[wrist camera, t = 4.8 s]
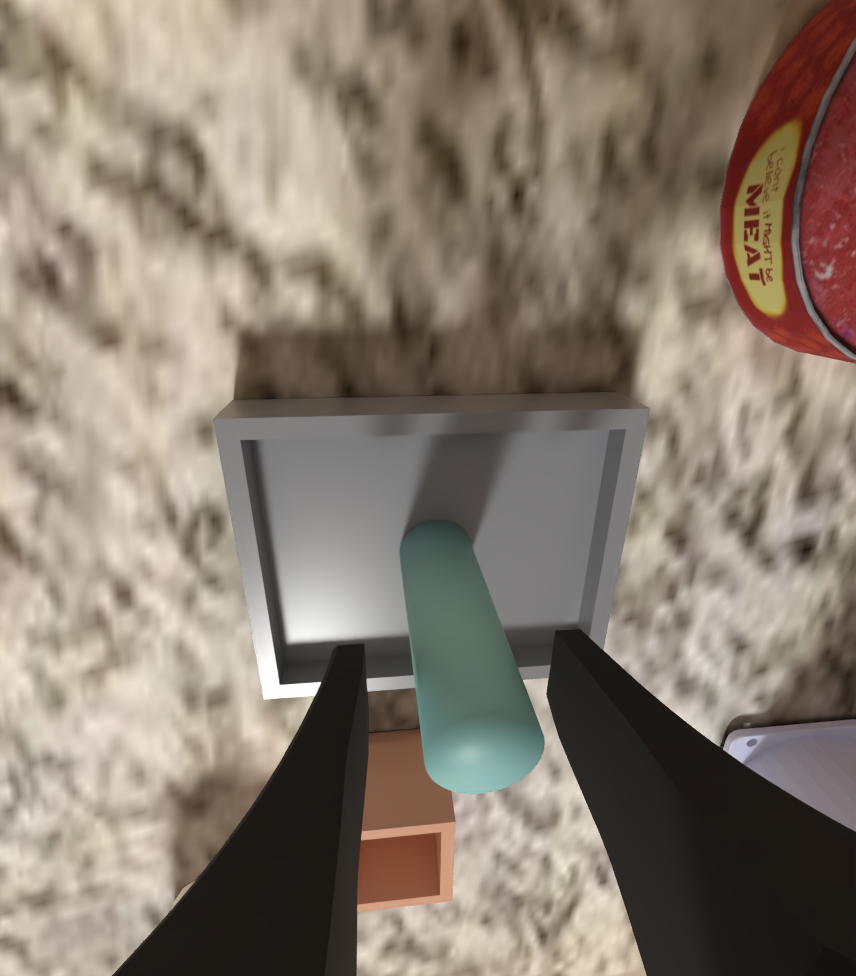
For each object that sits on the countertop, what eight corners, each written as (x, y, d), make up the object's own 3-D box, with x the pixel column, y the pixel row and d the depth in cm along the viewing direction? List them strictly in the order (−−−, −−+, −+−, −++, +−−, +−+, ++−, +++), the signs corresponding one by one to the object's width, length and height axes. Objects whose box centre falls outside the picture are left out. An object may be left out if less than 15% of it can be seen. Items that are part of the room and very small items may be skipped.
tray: (618, 391, 16) (649, 408, 14) (578, 636, 20) (598, 673, 18) (232, 399, 15) (213, 418, 13) (274, 657, 19) (264, 699, 17)
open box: (441, 726, 21) (455, 821, 18) (440, 802, 23) (452, 900, 20) (324, 736, 21) (313, 836, 17) (332, 812, 23) (325, 915, 19)
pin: (472, 517, 16) (551, 702, 9) (469, 579, 17) (538, 786, 10) (398, 521, 16) (424, 714, 9) (400, 583, 17) (424, 800, 10)
